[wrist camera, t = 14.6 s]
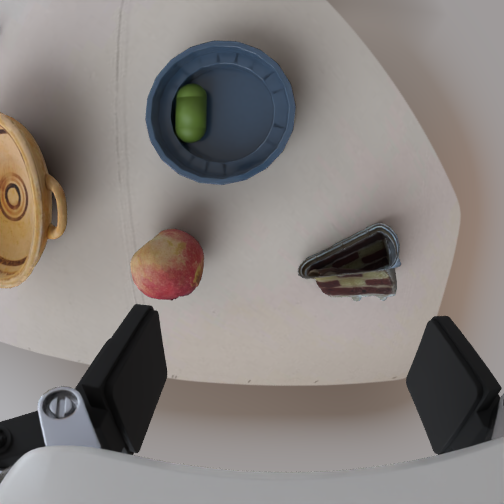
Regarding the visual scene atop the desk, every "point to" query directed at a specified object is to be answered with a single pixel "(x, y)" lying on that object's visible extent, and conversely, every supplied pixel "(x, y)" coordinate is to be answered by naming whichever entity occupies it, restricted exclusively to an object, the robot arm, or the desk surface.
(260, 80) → the bowl
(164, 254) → the fruit
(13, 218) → the ceramic bowl
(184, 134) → the pickle
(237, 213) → the desk surface
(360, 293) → the layered cake slice
